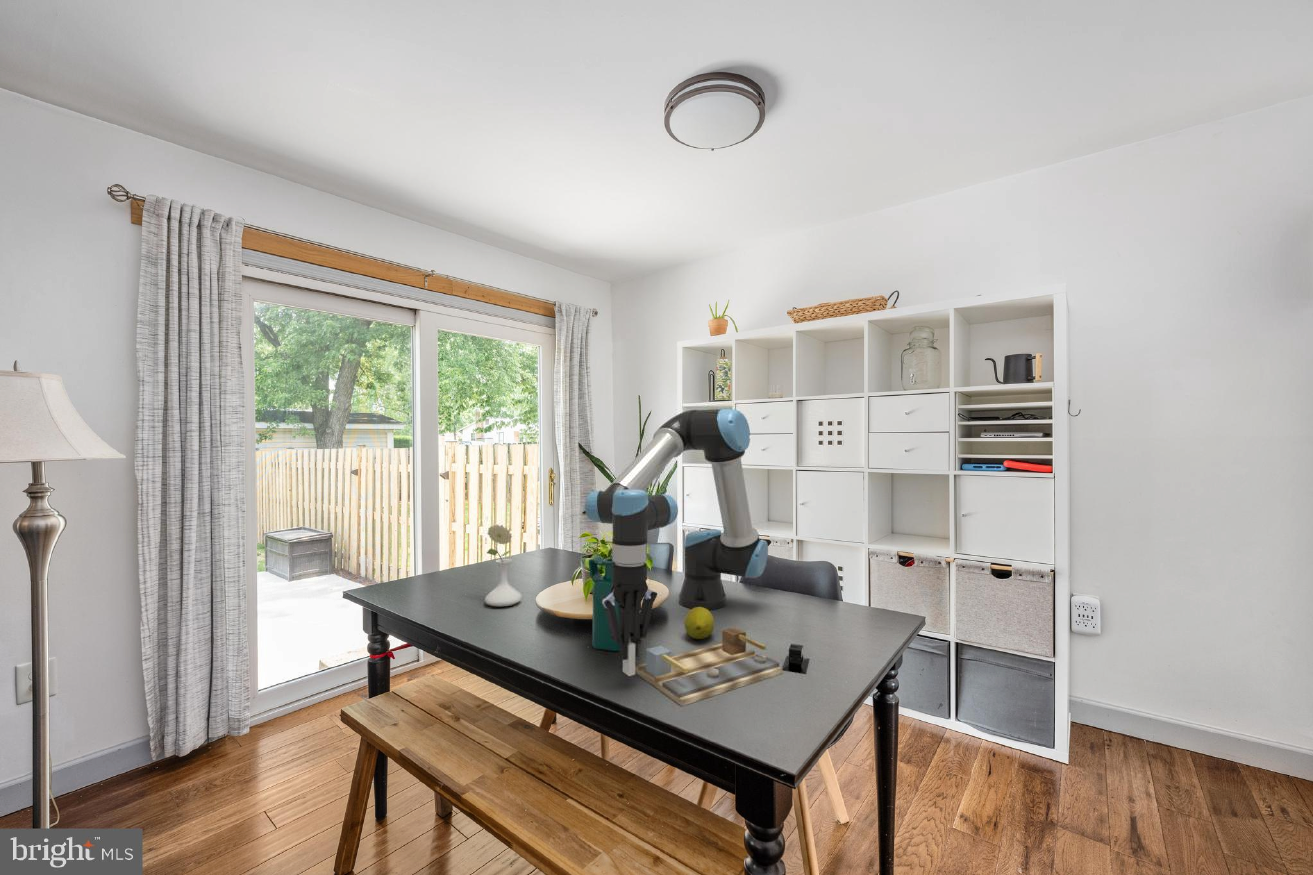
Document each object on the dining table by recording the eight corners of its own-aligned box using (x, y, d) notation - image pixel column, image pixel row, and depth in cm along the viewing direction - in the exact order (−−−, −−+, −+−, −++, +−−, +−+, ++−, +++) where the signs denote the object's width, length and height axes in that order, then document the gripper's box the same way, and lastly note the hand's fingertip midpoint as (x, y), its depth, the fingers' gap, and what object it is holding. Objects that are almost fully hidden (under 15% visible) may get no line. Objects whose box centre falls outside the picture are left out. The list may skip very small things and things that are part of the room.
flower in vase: (529, 602, 174) (530, 524, 174) (501, 612, 164) (502, 529, 164) (501, 595, 180) (501, 520, 180) (473, 604, 171) (473, 525, 171)
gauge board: (729, 647, 138) (730, 622, 138) (782, 673, 123) (782, 645, 123) (635, 672, 122) (635, 645, 122) (681, 706, 107) (682, 674, 107)
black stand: (784, 654, 135) (784, 636, 135) (814, 659, 132) (814, 640, 132) (776, 674, 123) (776, 654, 123) (809, 680, 121) (809, 659, 121)
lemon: (689, 629, 150) (689, 601, 150) (717, 633, 148) (717, 603, 148) (679, 644, 140) (679, 613, 140) (708, 647, 137) (709, 616, 137)
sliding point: (661, 666, 123) (661, 645, 123) (694, 688, 112) (694, 664, 112) (646, 670, 120) (646, 649, 120) (678, 692, 110) (678, 669, 110)
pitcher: (632, 640, 142) (633, 556, 142) (621, 652, 134) (622, 563, 134) (597, 636, 144) (598, 553, 144) (585, 648, 136) (585, 560, 136)
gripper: (646, 555, 122) (645, 660, 122) (594, 562, 115) (593, 673, 115) (664, 562, 116) (664, 672, 116) (611, 570, 109) (610, 687, 109)
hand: (628, 672), depth 116 cm, fingers closed
